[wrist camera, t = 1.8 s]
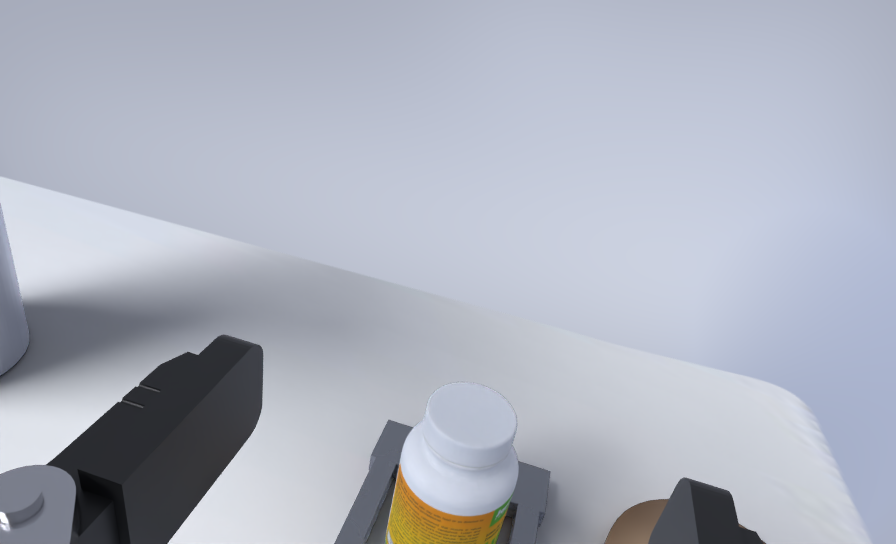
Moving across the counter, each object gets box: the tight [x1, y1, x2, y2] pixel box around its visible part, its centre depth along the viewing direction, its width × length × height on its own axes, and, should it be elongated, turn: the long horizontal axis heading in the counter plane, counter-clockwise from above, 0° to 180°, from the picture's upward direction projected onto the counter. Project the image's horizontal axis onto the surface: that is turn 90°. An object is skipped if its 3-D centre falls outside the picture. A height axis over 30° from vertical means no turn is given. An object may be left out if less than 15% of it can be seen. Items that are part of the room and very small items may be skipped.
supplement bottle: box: [385, 382, 519, 544], centre depth 28 cm, size 5×5×10 cm
